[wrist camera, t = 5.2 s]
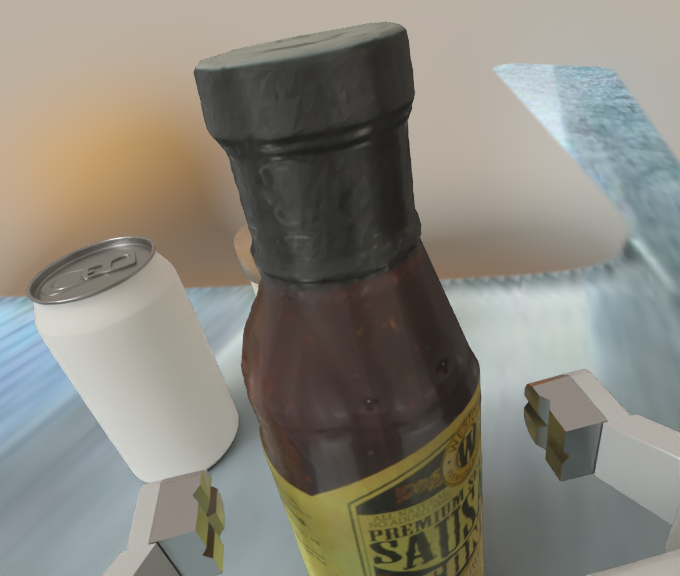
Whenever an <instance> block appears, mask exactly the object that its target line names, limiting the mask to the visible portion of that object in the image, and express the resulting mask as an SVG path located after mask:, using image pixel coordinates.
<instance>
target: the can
mask: <svg viewBox="0 0 680 576" xmlns="http://www.w3.org/2000/svg"><path fill="white" fill-rule="evenodd" d="M26 293H27V296H28V298H29V299H30V300H31V301H33V302H34V316H35V325H36V328H37V330H38V332H39V334H40V336H41V337H42V339H43V340H44V342H45V344H46V345H47V347H48V348H49V350H50V351H51V353H52V354H53V356H54V357H55V359H56V360H57V362H58V363H59V365H60V366H61V368H62V369H63V371H64V372H65V374H66V375H67V377H68V378H69V380H70V381H71V383H72V384H73V386H74V387H75V389H76V390H77V392H78V393H79V394H80V396H81V397H82V399H83V400H84V402H85V403H86V405H87V406H88V408H89V409H90V411H91V412H92V414H93V415H94V417H95V418H96V420H97V421H98V423H99V424H100V425H101V427H102V428H103V430H104V431H105V433H106V434H107V436H108V437H109V439H110V440H111V442H112V443H113V445H114V446H115V447H116V449H117V450H118V452H119V453H120V455H121V456H122V458H123V459H124V460H125V462H126V463H127V465H128V466H129V468H130V469H131V470H132V472H133V473H134V474H135V475H136V476H137V477H138V478H139V479H140V480H142V481H144V482H147V483H151V482H155V481H159V480H163V479H167V478H171V477H175V476H179V475H184V474H188V473H192V472H196V471H201V470H208V469H210V468H211V467H212V466H213V465H215V464H216V463H217V462H218V461H219V460H220V459H221V458H222V457H223V455H224V454H225V453H226V452H227V450H228V449H229V447H230V445H231V443H232V442H233V440H234V438H235V435H236V433H237V429H238V423H239V418H238V413H237V410H236V407H235V404H234V402H233V400H232V397H231V395H230V392H229V390H228V388H227V385H226V383H225V381H224V378H223V376H222V374H221V371H220V369H219V367H218V365H217V362H216V360H215V358H214V355H213V353H212V351H211V348H210V346H209V344H208V342H207V339H206V337H205V335H204V332H203V330H202V328H201V325H200V323H199V321H198V319H197V316H196V314H195V312H194V309H193V307H192V305H191V303H190V300H189V298H188V296H187V294H186V291H185V289H184V287H183V285H182V283H181V280H180V278H179V276H178V274H177V272H176V270H175V269H174V267H173V265H172V264H171V263H170V262H169V261H167V260H166V259H165V258H164V257H163V256H161V255H160V254H159V253H158V252H156V247H155V244H154V243H153V241H152V240H150V239H148V238H146V237H142V236H123V237H116V238H112V239H107V240H103V241H100V242H96V243H93V244H90V245H87V246H85V247H82V248H80V249H77V250H75V251H73V252H71V253H69V254H67V255H65V256H63V257H61V258H59V259H57V260H56V261H54V262H53V263H51V264H49V265H48V266H47V267H45V268H44V269H43V270H41V271H40V272H39V273H38V274H37V275H36V276H35V277H34V278H33V279H32V281H31V282H30V283H29V285H28V287H27V292H26Z"/></svg>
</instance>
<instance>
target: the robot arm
mask: <svg viewBox="0 0 680 576" xmlns="http://www.w3.org/2000/svg"><path fill="white" fill-rule="evenodd" d="M525 397H526V398H527V400H528V401H529V402H528V403H527V405H526V406H525V407H524V419H525V423H526V426H527V429H528V431H529V433H530V435H531V437H532V439H533V440H534V442H535V444H536V445H538V446H540V447H542V448H544V449H546V461H547V462H548V464H549V465H550V467H551V468H552V470H553V471H554V473H555V474H556V476H557V477H558V479H559V480H560V482H561V481H565V480H569V479H573V478H577V477H582V476H586V475H590V474H594V473H595V474H594V475H595V476H596V477H598V478H599V479H601V480H602V481H604V482H606V483H607V484H609V485H610V486H612V487H613V488H615V489H616V490H618V491H619V492H621V493H623V494H624V495H626V496H627V497H629V498H630V499H632V500H633V501H635V502H636V503H638V504H639V505H641V506H643V507H644V508H646V509H647V510H649V511H650V512H652V513H653V514H655V515H656V516H658V517H660V518H661V519H663V520H664V521H666V522H667V523H669V524H670V525H672V527H671V530H670V533H669V536H668V539H667V542H666V546H665V551H666V552H667V553H664V554H660V555H657V556H653V557H650V558H646V559H643V560H639V561H635V562H632V563H628V564H625V565H621V566H618V567H614V568H611V569H607V570H603V571H600V572H596V573H593V574H589V575H586V576H680V432H677V431H675V430H673V429H670V428H668V427H666V426H663V425H661V424H659V423H656V422H654V421H652V420H649V419H647V418H644V417H642V416H640V415H637V414H635V415H630V414H629V413H628V412H627V411H626V410H625V409H624V408H623V407H622V406H621V405H620V404H619V402H618V401H617V400H616V399H615V398H614V397H613V396H612V395H611V394H610V393H609V392H608V391H607V390H606V389H605V387H604V386H603V385H602V384H601V383H600V382H599V381H598V380H597V379H596V378H595V377H594V376H593V375H592V374H591V372H590V371H588V370H586V369H583V370H579V371H575V372H571V373H567V374H565V375H563V374H562V375H559V376H555V377H552V378H548V379H544V380H541V381H537V382H533V383H530V384H527V385H526V387H525ZM224 524H225V515H224V507H223V502H222V498H221V495H220V493H219V491H218V489H216V488H214V487H212V486H211V476H210V475H209V473H208V471H207V470H201V471H196V472H192V473H188V474H184V475H179V476H175V477H171V478H167V479H163V480H159V481H155V482H151V483H147V484H143V486H142V487H141V489H140V491H139V494H138V498H137V503H136V507H135V512H134V517H133V521H132V526H131V530H130V535H129V539H128V544H127V548H126V551H123V552H120V553H119V554H118V555H117V557H116V558H115V559H114V561H113V562H112V563H111V565H110V566H109V567H108V569H107V570H106V571H105V572H104V574H103V575H102V576H216V575H220V574H222V572H223V550H224V545H223V544H222V542H221V540H220V538H219V536H220V534H221V532H222V531H223V529H224Z"/></svg>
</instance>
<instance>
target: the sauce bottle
mask: <svg viewBox="0 0 680 576" xmlns="http://www.w3.org/2000/svg"><path fill="white" fill-rule="evenodd" d="M194 76H195V80H196V84H197V89H198V93H199V96H200V100H201V106H202V111H203V116H204V120H205V124H206V127H207V130H208V131H209V133H210V135H211V136H212V137H213V138H214V139H215V140H216V141H217V142H218V143H219V144H220V146H221V147H222V148H223V149H224V150H225V151H226V153H227V155H228V157H229V160H230V164H231V169H232V172H233V175H234V180H235V183H236V186H237V188H238V190H239V194H240V201H241V204H242V207H243V210H244V213H245V217H246V220H247V224H248V229H249V231H250V234H251V237H252V244H251V247H250V252H251V255H252V257H253V260H254V262H255V265H256V267H257V269H258V271H259V273H260V275H261V280H260V281H259V285H258V292H257V296H256V298H255V300H254V302H253V304H252V307H251V312H250V314H249V318H248V319H247V321H246V325H245V328H244V333H243V348H242V363H241V368H242V373H243V376H244V382H245V385H246V388H247V394H248V398H249V400H250V403H251V405H252V406H253V409H254V412H255V414H256V416H257V419H258V422H259V423H260V438H261V442H262V446H263V450H264V453H265V456H266V459H267V461H268V464H269V467H270V469H271V472H272V475H273V477H274V480H275V483H276V486H277V488H278V491H279V494H280V496H281V499H282V502H283V505H284V507H285V510H286V513H287V515H288V518H289V521H290V524H291V526H292V529H293V532H294V535H295V538H296V541H297V543H298V546H299V549H300V552H301V555H302V557H303V560H304V563H305V566H306V569H307V571H308V574H309V576H484V559H483V496H482V453H481V389H480V368H479V363H478V360H477V358H476V357H475V355H474V353H473V352H472V350H471V348H470V347H469V345H468V342H467V340H466V338H465V336H464V334H463V331H462V329H461V327H460V325H459V323H458V320H457V318H456V316H455V314H454V312H453V309H452V307H451V305H450V303H449V301H448V298H447V296H446V294H445V292H444V290H443V287H442V285H441V283H440V281H439V279H438V276H437V274H436V272H435V270H434V268H433V265H432V264H431V261H430V259H429V257H428V254H427V252H426V250H425V248H424V246H423V243H422V241H421V239H420V236H421V222H420V219H419V216H418V213H417V211H416V210H415V205H414V194H413V178H412V170H411V158H410V148H409V138H408V118H409V115H410V112H411V110H412V103H413V100H414V95H415V90H414V81H413V68H412V63H411V58H410V49H409V40H408V35H407V31H406V29H405V28H404V27H403V26H401V25H400V24H396V23H390V22H380V23H369V24H362V25H357V26H352V27H346V28H341V29H336V30H330V31H325V32H319V33H314V34H308V35H302V36H296V37H292V38H287V39H282V40H278V41H273V42H268V43H263V44H258V45H253V46H249V47H244V48H240V49H236V50H232V51H230V52H227V53H223V54H220V55H217V56H214V57H211V58H207V59H204V60H201V61H200V62H199V63H198V64H197V66H196V67H195V70H194Z"/></svg>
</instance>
